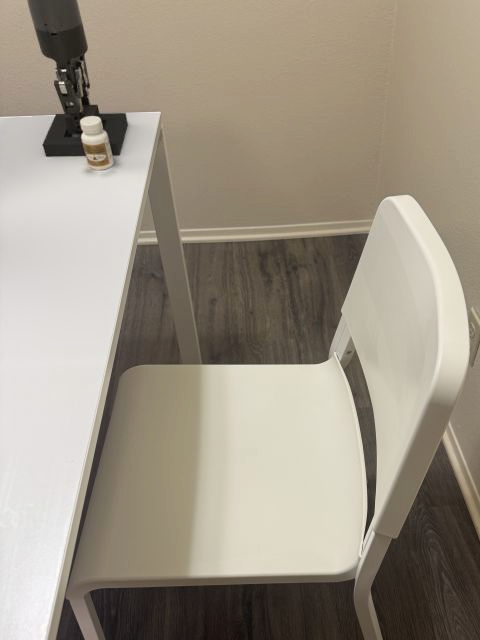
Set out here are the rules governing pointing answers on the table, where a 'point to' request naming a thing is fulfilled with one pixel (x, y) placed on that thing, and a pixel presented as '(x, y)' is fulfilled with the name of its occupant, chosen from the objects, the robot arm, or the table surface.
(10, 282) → the table surface
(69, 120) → the small pad
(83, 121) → the pill bottle
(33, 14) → the robot arm
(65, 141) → the base pad
